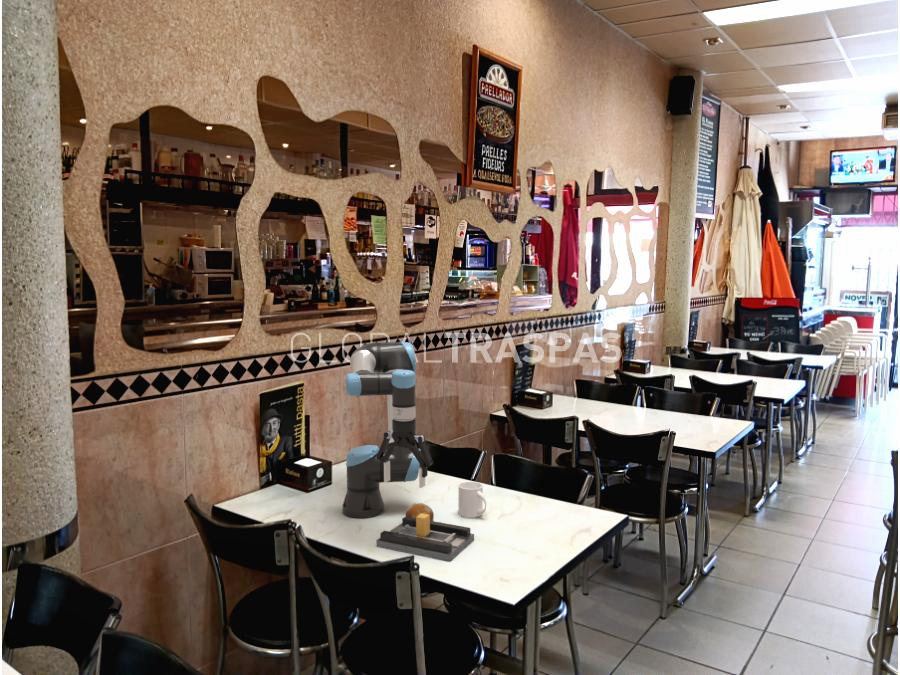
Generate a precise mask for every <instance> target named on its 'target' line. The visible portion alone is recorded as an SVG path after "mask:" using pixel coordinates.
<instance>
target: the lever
mask: <svg viewBox="0 0 900 675" xmlns="http://www.w3.org/2000/svg"><path fill="white" fill-rule="evenodd" d="M429 535H430V515H428V514H422V513H421V514H420V515H418V516H417V517H416V536H420V537H425V538H427V537H428V536H429Z"/></svg>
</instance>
